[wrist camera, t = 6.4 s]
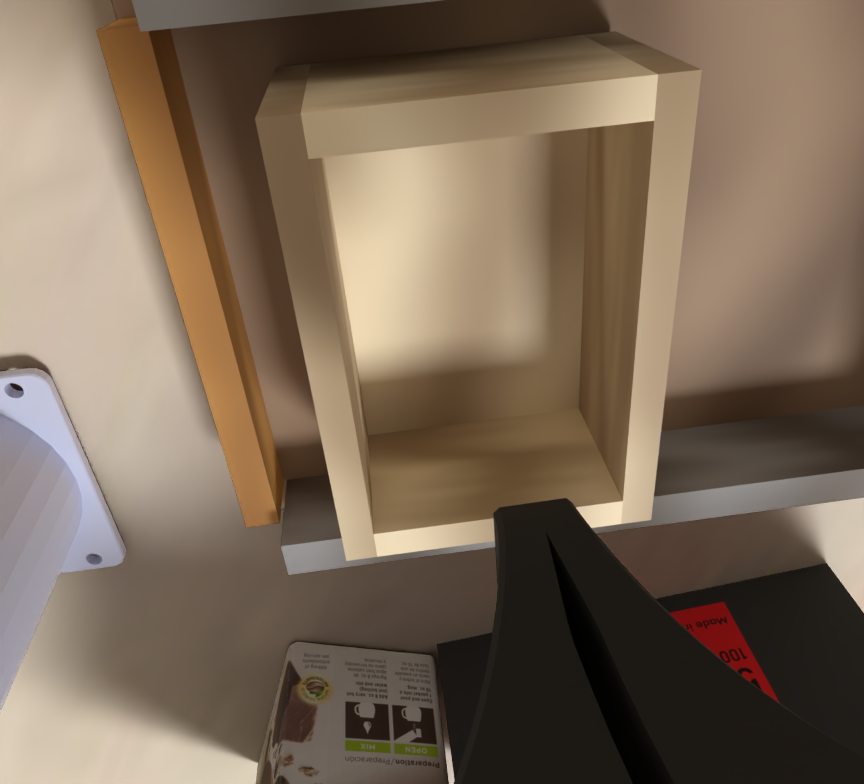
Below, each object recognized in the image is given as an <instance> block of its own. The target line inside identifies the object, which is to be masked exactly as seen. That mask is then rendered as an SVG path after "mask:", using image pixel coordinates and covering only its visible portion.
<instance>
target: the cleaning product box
mask: <svg viewBox="0 0 864 784" xmlns="http://www.w3.org/2000/svg"><path fill="white" fill-rule="evenodd" d="M655 600H656V601H657V602H658V603H659V604H660V605H662V606H663V607H664V608H665V609H666V610H667V611H668V612H669V613H670V614H671V615H672V616H673V617H674V618H675V619H676V620H677V621H678V622H679V623H680V624H681V625H682V626H684V627H685V628H686V629H687V630H688V631H689V632H690V633H691V634H692V635H694V636H695V637H696V638H697V639H698V640H699V641H700V642H701V643H703V644H704V645H705V646H706V647H707V648H709V649H710V650H711V651H712V652H713V653H715V654H716V655H717V656H718V657H719V658H720V659H722V660H723V661H724V662H725V663H727V664H728V665H729V666H730V667H732V668H733V669H734V670H736V671H737V672H738V673H739V674H741V675H742V676H743V677H744V678H746V679H747V680H748V681H750V682H751V683H752V684H754V685H755V686H756V687H758V688H759V689H761V690H762V691H763V692H765V693H766V694H768V695H769V696H770V697H772V698H773V699H775V700H776V701H778V702H779V703H780V704H782V705H783V706H785V707H786V708H787V709H789V710H790V711H792V712H793V713H795V714H796V715H797V716H799V717H800V718H802V719H803V720H804V721H806V722H807V723H809V724H810V725H812V726H814V727H815V728H817V729H818V730H820V731H821V732H823V733H825V734H826V735H828V736H829V737H831V738H832V739H834V740H835V741H837V742H839V743H840V744H842V745H843V746H845V747H846V748H848V749H850V750H851V751H853V752H855V753H857V754H859V755H860V756H862V757H864V613H863V611H862V610H861V609H860V607H859V606H858V605H857V603H856V602H855V601H854V599H853V598H852V597H851V595H850V594H849V593H848V591H847V590H846V589H845V587H844V586H843V585H842V583H841V582H840V581H839V579H838V578H837V577H836V575H835V574H834V572H833V571H832V570H831V568H830V567H829V566H828V564H827V563H826V564H821V565H817V566H812V567H807V568H802V569H797V570H793V571H788V572H783V573H778V574H773V575H768V576H764V577H759V578H754V579H749V580H744V581H740V582H735V583H730V584H725V585H720V586H715V587H711V588H706V589H701V590H696V591H691V592H686V593H682V594H677V595H672V596H667V597H662V598H658V599H655ZM491 640H492V633H489V634H484V635H479V636H474V637H470V638H465V639H460V640H455V641H450V642H445V643H441V644H437V648H438V656H439V664H440V671H441V679H442V687H443V694H444V702H445V710H446V717H447V725H448V732H449V740H450V748H451V755H452V763H453V771H454V778H455V779H456V776H457V773H458V770H459V767H460V764H461V761H462V758H463V755H464V752H465V749H466V746H467V742H468V739H469V735H470V732H471V729H472V725H473V721H474V717H475V713H476V710H477V706H478V702H479V698H480V694H481V690H482V686H483V681H484V677H485V672H486V667H487V662H488V657H489V652H490V646H491Z"/></svg>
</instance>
